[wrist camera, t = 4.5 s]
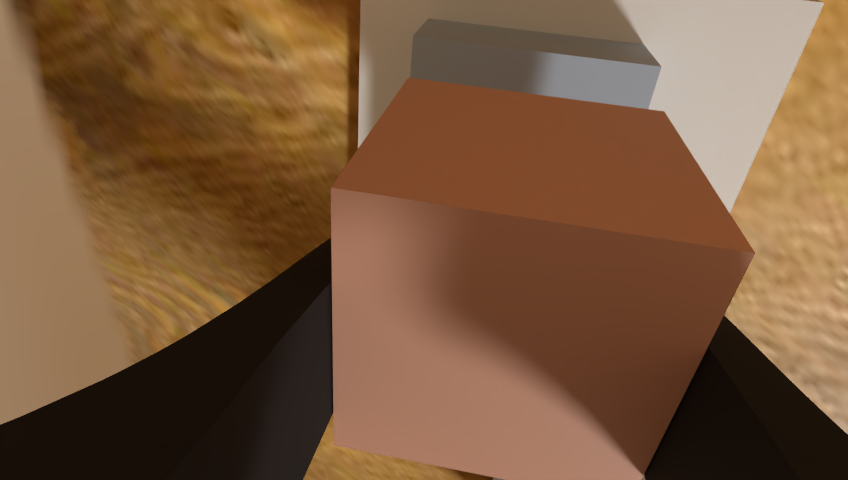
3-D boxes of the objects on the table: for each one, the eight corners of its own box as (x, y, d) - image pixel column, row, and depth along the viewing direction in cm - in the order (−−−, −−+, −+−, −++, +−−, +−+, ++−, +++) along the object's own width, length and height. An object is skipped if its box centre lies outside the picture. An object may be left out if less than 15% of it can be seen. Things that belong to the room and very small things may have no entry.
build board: (672, 315, 20) (677, 329, 20) (361, 263, 21) (355, 274, 21) (810, -2, 14) (824, 2, 14) (368, -51, 15) (361, -49, 15)
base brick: (589, 230, 18) (596, 271, 16) (413, 202, 19) (398, 239, 17) (644, 44, 15) (661, 66, 13) (428, 18, 15) (413, 36, 13)
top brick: (597, 311, 13) (629, 504, 9) (395, 277, 13) (333, 445, 9) (664, 111, 10) (755, 253, 6) (408, 77, 11) (330, 187, 7)
